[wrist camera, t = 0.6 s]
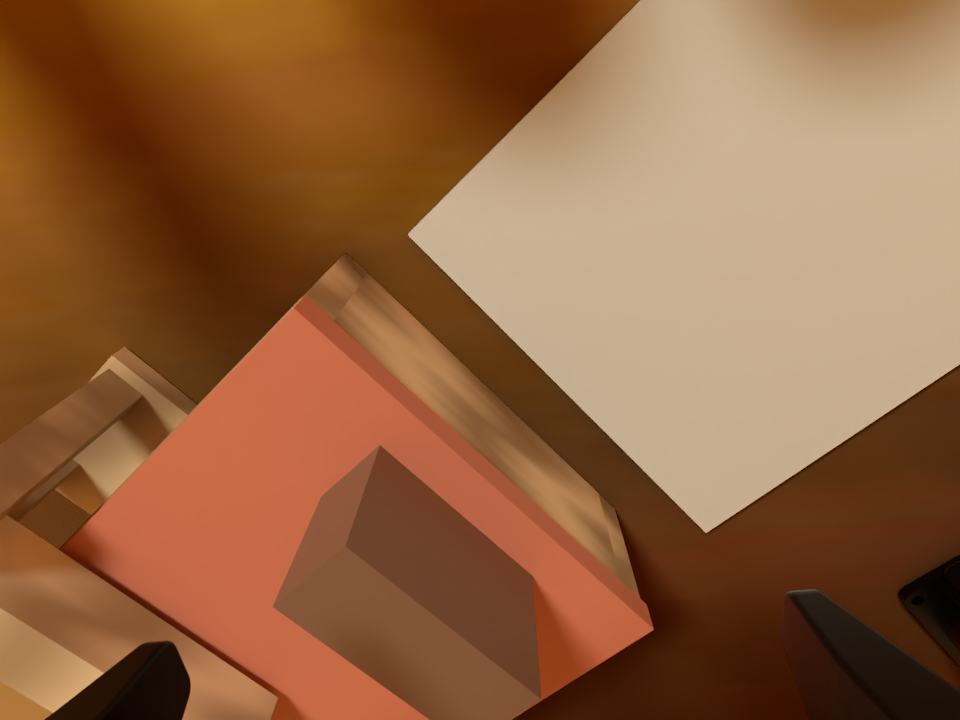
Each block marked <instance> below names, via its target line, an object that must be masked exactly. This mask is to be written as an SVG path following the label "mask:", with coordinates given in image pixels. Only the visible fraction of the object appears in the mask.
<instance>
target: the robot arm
mask: <svg viewBox="0 0 960 720" xmlns="http://www.w3.org/2000/svg"><path fill="white" fill-rule="evenodd" d="M899 598H900V600H901V601H902V602H903V604H904V605H905V606H906V607H907V608H908V609H909V611H910V612H911V613H912V614H913V615H914V616H915V617H916V618H917V619H918V621H919V622H920V623H921V624H922V625H923V626H924V627H925V628H926V629H927V630H928V632H929V633H930V634H931V635H932V636H933V637H934V638H935V639H936V640H937V642H938V643H939V644H940V645H941V646H942V647H943V648H944V649H945V650H946V652H947V653H948V654H949V655H950V656H951V657H952V658H953V659H954V660H955V661H956V663H957V664H958V665H959V666H960V555H959V556H958V557H956V558H954V559H952V560H951V561H949V562H947V563H945V564H944V565H942V566H940V567H938V568H937V569H935V570H933V571H931V572H930V573H928V574H926V575H924V576H923V577H921V578H919V579H917V580H916V581H914V582H912V583H910V584H909V585H907V586H905V587H904V588H903V589H901V591H900V593H899ZM782 642H783V647H784V651H785V654H786V657H787V659H788V662H789V665H790V667H791V670H792V673H793V676H794V678H795V681H796V684H797V686H798V689H799V692H800V695H801V697H802V700H803V703H804V705H805V708H806V711H807V714H808V716H809V719H810V720H960V691H959V690H958V689H957V688H955V687H954V686H952V685H951V684H950V683H948V682H947V681H945V680H944V679H943V678H941V677H940V676H938V675H937V674H936V673H934V672H933V671H931V670H930V669H929V668H927V667H926V666H924V665H923V664H922V663H920V662H919V661H917V660H916V659H915V658H913V657H912V656H910V655H909V654H908V653H906V652H905V651H903V650H902V649H901V648H899V647H898V646H896V645H895V644H894V643H892V642H891V641H889V640H888V639H887V638H885V637H884V636H882V635H881V634H880V633H878V632H877V631H875V630H874V629H873V628H871V627H870V626H868V625H867V624H866V623H864V622H863V621H861V620H860V619H859V618H857V617H856V616H854V615H853V614H851V613H850V612H849V611H847V610H846V609H844V608H843V607H842V606H840V605H839V604H837V603H836V602H835V601H833V600H832V599H830V598H829V597H828V596H826V595H825V594H823V593H822V592H820V591H818V590H814V589H810V590H797V591H789V592H787V593H786V595H785V597H784V606H783V623H782ZM190 690H191V681H190V677H189V674H188V672H187V670H186V667H185V665H184V663H183V660H182V658H181V656H180V654H179V651H178V649H177V647H176V645H175V644H174V643H173V642H171V641H168V640H164V641H152V642H146V643H143V644H141V645H140V646H138V647H137V648H136V649H134V650H133V651H132V652H131V653H129V654H128V655H127V656H125V657H124V658H123V659H122V660H120V661H119V662H118V663H116V664H115V665H114V666H113V667H111V668H110V669H109V670H108V671H106V672H105V673H104V674H102V675H101V676H100V677H99V678H97V679H96V680H95V681H93V682H92V683H91V684H90V685H88V686H87V687H86V688H85V689H83V690H82V691H81V692H79V693H78V694H77V695H76V696H74V697H73V698H72V699H70V700H69V701H68V702H67V703H65V704H64V705H63V706H62V707H60V708H59V709H58V710H56V711H55V712H54V713H53V714H51V715H50V716H49V717H47V718H46V719H45V720H182V719H183V715H184V712H185V709H186V706H187V703H188V699H189V696H190Z"/></svg>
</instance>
